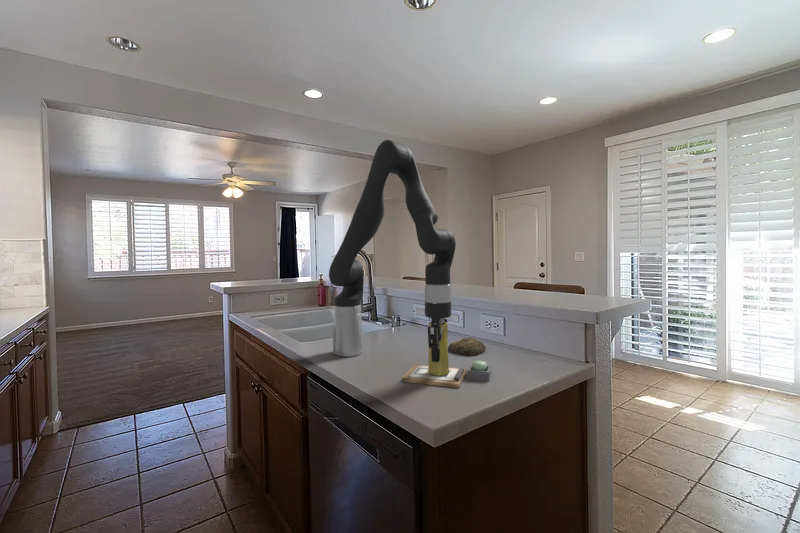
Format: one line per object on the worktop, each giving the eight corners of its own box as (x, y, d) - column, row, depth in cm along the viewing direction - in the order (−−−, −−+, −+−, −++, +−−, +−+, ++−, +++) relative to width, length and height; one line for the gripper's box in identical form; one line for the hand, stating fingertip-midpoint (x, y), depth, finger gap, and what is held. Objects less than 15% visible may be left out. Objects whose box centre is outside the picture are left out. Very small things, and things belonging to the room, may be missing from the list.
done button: (471, 371, 106) (471, 364, 106) (473, 366, 110) (473, 360, 110) (485, 372, 105) (485, 365, 105) (487, 368, 109) (487, 361, 109)
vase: (448, 376, 104) (448, 325, 103) (426, 375, 105) (426, 324, 104) (449, 369, 110) (449, 321, 109) (429, 368, 111) (428, 320, 110)
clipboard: (401, 381, 104) (401, 374, 104) (415, 367, 117) (415, 361, 117) (459, 388, 99) (459, 380, 99) (467, 372, 111) (467, 366, 111)
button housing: (467, 378, 106) (467, 370, 106) (470, 372, 112) (470, 363, 111) (489, 381, 104) (489, 372, 104) (491, 374, 110) (491, 365, 109)
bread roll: (469, 358, 126) (469, 343, 126) (443, 350, 136) (443, 337, 136) (493, 351, 134) (493, 337, 134) (466, 344, 144) (466, 331, 144)
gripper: (431, 296, 114) (431, 350, 115) (418, 302, 101) (418, 364, 102) (455, 297, 112) (456, 352, 113) (445, 304, 98) (445, 367, 99)
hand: (438, 358), depth 107 cm, fingers closed on vase, 5 cm apart
